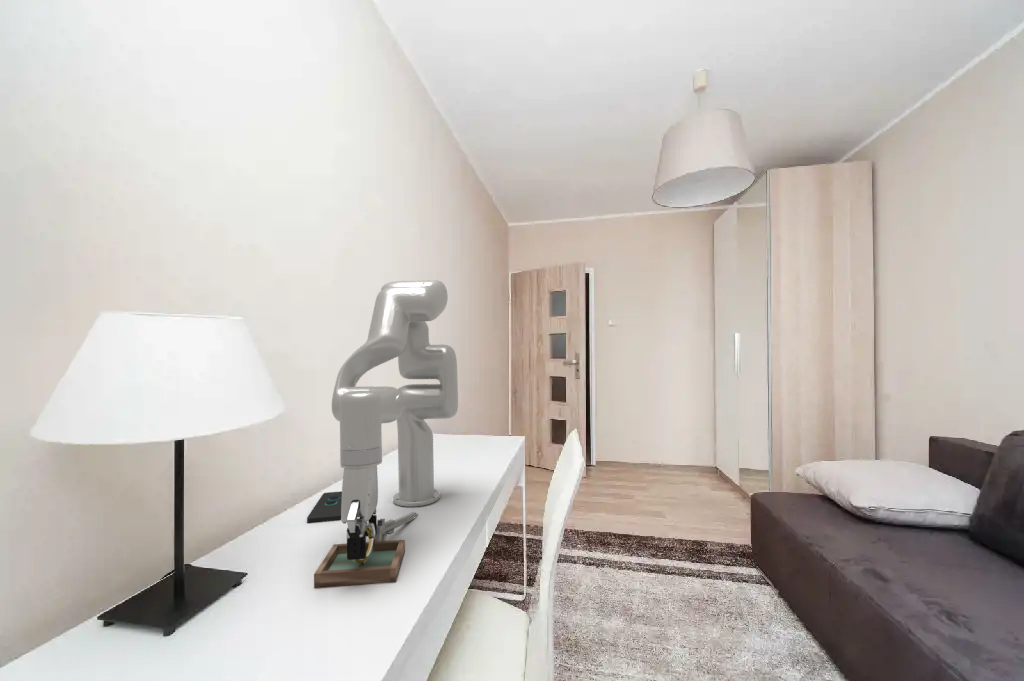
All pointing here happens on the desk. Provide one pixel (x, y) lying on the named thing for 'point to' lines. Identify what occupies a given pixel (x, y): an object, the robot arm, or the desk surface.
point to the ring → (371, 533)
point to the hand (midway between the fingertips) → (362, 546)
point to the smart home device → (327, 508)
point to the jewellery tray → (361, 565)
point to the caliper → (391, 526)
